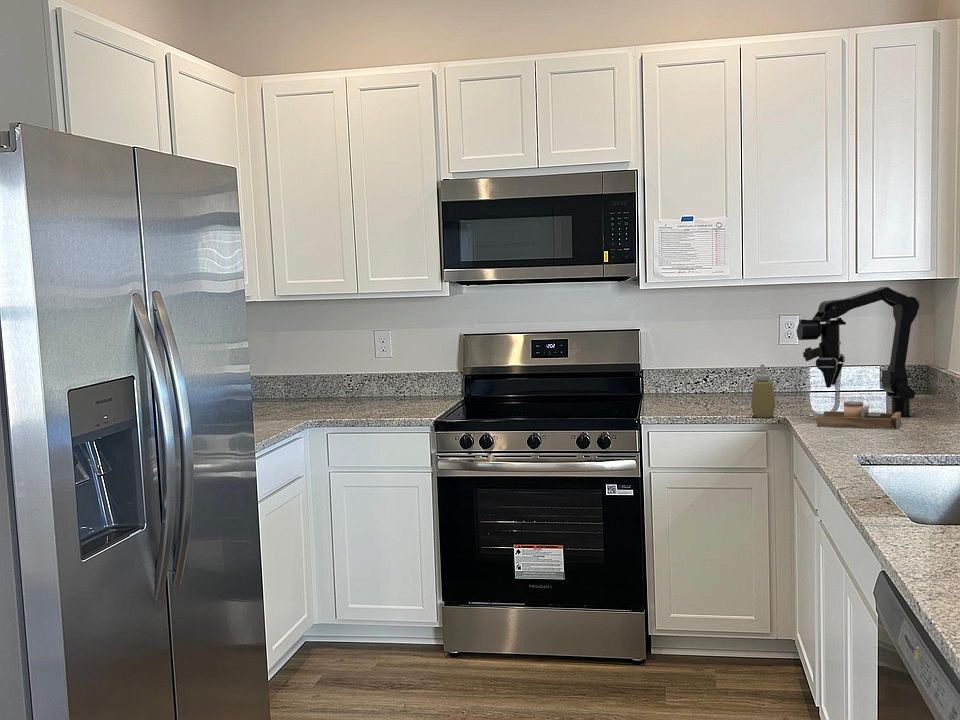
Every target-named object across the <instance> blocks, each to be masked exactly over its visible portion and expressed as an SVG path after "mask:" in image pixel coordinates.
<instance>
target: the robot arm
mask: <svg viewBox="0 0 960 720" xmlns="http://www.w3.org/2000/svg"><path fill="white" fill-rule="evenodd" d="M880 301H883V302H884V303H885V304H887V305H888V306H890V307H892V315H893V318H894V321H895V325H894V333H893V338H892V340H893V341H892V347H891V353H890V361H889V362H890V363H889V366H888V367H887V369H886V370H885V369H882V370H881V379H880V381H879V382H880V383H881V388H883V390H884V391H885V392H886V395H887V397H891V403H890V404H891V406H890V407H891V411H890V412H891V413H895V412H901V418H912V416H913V413H912V412H911V400H912V399H914V398H915V395H916V391H915V390H913V389H912V388H911V386H909V380H908V379H909V378H908V376H909V375H908V373H907V370H906V362H907V355H908V349H909V341H910V335H911V328H912V324H913V322H914V321H915V319H916V317H917V315H918V312H919V309H920V301H919V300H918V299H917V298H916V297H914V296H908V295H905V294H904V293H901V292H899V291H896V290H894V289H892V288H890V287H888V286H879V287H878V288H875V289H873V290H868V291H865V292H863V293H860V294H856V295H853V296H849V297H846V298H837V299H831V300H830V299H829V300H824V301H822V302H820V304H819V305H818V309H817V312H816V313H815V314H814V316H813V317H812V319H803V318H802V319H799V320H798V324H797V327H796V337H797V339H798V340H799V341H808V340H809V341H813V340H814V341H816V340H818V339H819V337H820V342H819V343H818V347H815V348H812V347H811V346H810V347H809V346H808V347H807V348H805V349H804V352H802V357H803V358H804V360H805V362H809V361H812V360H813V359H816V360H815V367H816V368H817V369H818V370H820V371H821V372H822V376H823V379H824V383H825V386H826V388H827V389H831V386H832V385H833V386H835V385H836V383H837V381H838V378H839V376H840V373H841V372H842V369H843V366H844V365H845V362H846V361H845V359H846V357H845V356H844V355H843V353H841V351H840V350H841V347H840V346H841V344H842V343H841V340H840V326H842V325H843V326H845V325H847V322H846V321H845V320H843V319H842V318H841V316H843V315H845V314H846V313H848V312H849V311H851V310H854V309H857V308H860V307H863V306H866V305H870V304H873V303H877V302H880Z"/></svg>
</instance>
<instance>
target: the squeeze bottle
mask: <svg viewBox="0 0 960 720" xmlns="http://www.w3.org/2000/svg"><path fill="white" fill-rule="evenodd" d="M770 380H771V375H770V374H767V371H766V367H765V364H760V368H759V372H758V374H757V375H755V381H754V382H753V383H752V391H751V405H750V407H751V410H752V413H753V416H754V417H755V418H756V419H757V418H759V419H769V418H772V417H773V416H774V414H775V413H774V412H775V409H776V400H775V391H774V384H773V382H772V381H770Z"/></svg>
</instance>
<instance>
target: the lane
mask: <svg viewBox="0 0 960 720" xmlns="http://www.w3.org/2000/svg"><path fill="white" fill-rule="evenodd" d="M869 414H881V418H854V417H844V411H827V410H825V411H823V416H818V415H817V416H816V427H819V426H839V427H838V428H846V427H861V428H860V429H874V428H895V429H894V430H897V429H898V428H899V427H900V425H901V424H902V417H901V412H895V413H892V412H869ZM900 423H901V424H900ZM899 424H900V425H899ZM897 427H898V428H897ZM896 428H897V429H896Z"/></svg>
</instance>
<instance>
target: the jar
mask: <svg viewBox="0 0 960 720" xmlns="http://www.w3.org/2000/svg"><path fill="white" fill-rule="evenodd" d="M863 408H864V402H863V401H855V400H854V401H852V400H851V401H844V402H843V412H844V417H854V418H861V410H862V409H863Z"/></svg>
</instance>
